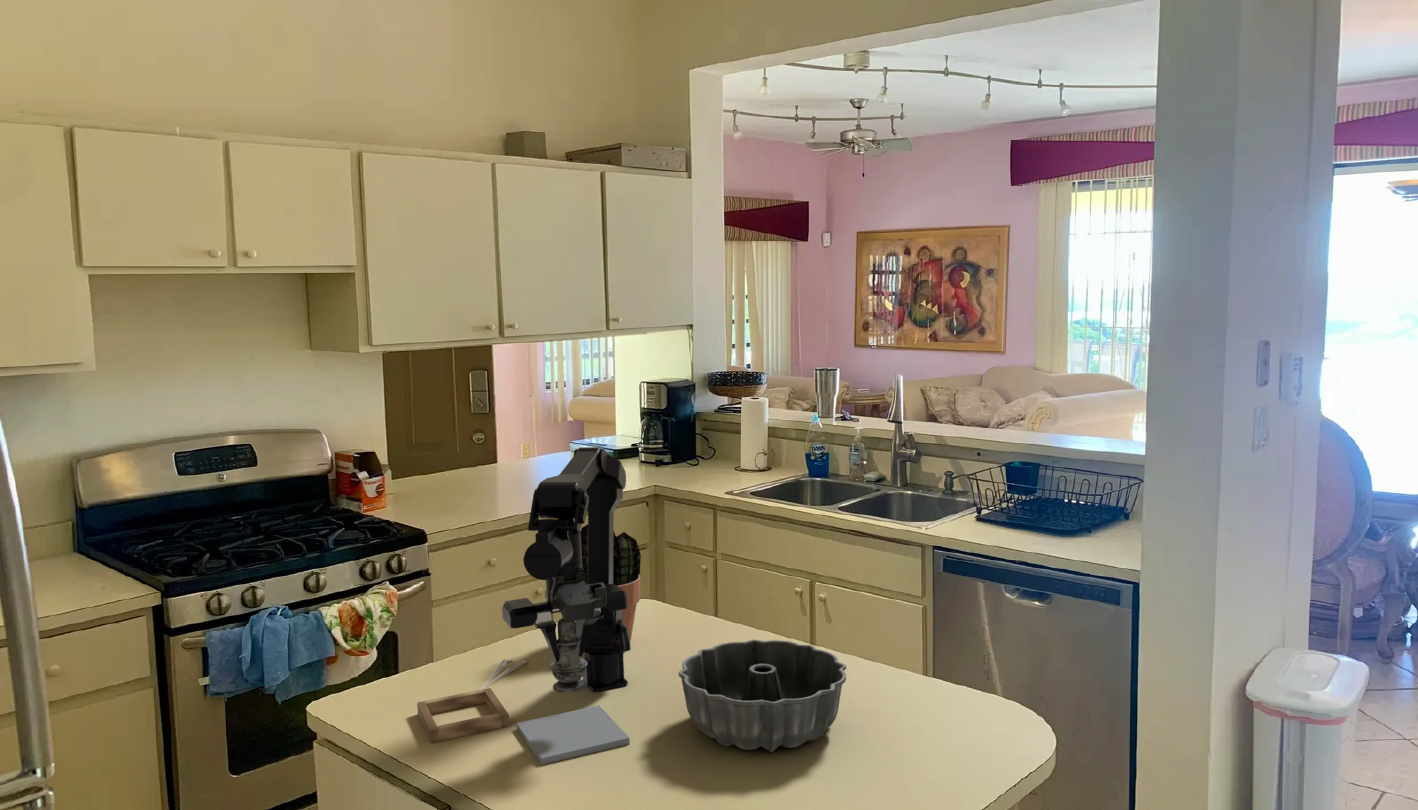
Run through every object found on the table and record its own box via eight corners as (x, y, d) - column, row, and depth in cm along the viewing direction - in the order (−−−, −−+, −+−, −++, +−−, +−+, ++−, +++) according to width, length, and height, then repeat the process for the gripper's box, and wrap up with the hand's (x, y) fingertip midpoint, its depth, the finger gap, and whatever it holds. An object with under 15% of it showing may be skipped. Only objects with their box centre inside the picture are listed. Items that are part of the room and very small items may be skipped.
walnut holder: (491, 698, 173) (490, 687, 173) (509, 725, 162) (508, 714, 162) (417, 713, 168) (417, 702, 167) (431, 742, 156) (430, 730, 156)
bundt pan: (862, 703, 166) (861, 645, 165) (828, 777, 142) (827, 709, 141) (712, 687, 175) (710, 632, 174) (656, 754, 150) (653, 691, 149)
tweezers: (506, 663, 191) (505, 653, 191) (528, 665, 190) (528, 655, 189) (460, 706, 175) (459, 695, 174) (484, 709, 173) (483, 698, 173)
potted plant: (614, 658, 190) (608, 530, 188) (560, 646, 198) (554, 523, 195) (656, 636, 202) (651, 515, 199) (603, 626, 209) (598, 509, 206)
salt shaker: (581, 694, 153) (577, 618, 151) (545, 692, 154) (541, 617, 153) (593, 679, 159) (590, 606, 157) (558, 678, 160) (554, 605, 158)
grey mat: (599, 710, 166) (599, 705, 166) (629, 743, 154) (629, 737, 154) (516, 729, 160) (516, 723, 160) (541, 764, 148) (541, 758, 148)
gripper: (517, 583, 143) (523, 688, 145) (638, 564, 151) (642, 663, 153) (498, 565, 153) (504, 663, 155) (613, 548, 161) (617, 641, 163)
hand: (568, 658), depth 156 cm, fingers closed on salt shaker, 3 cm apart
